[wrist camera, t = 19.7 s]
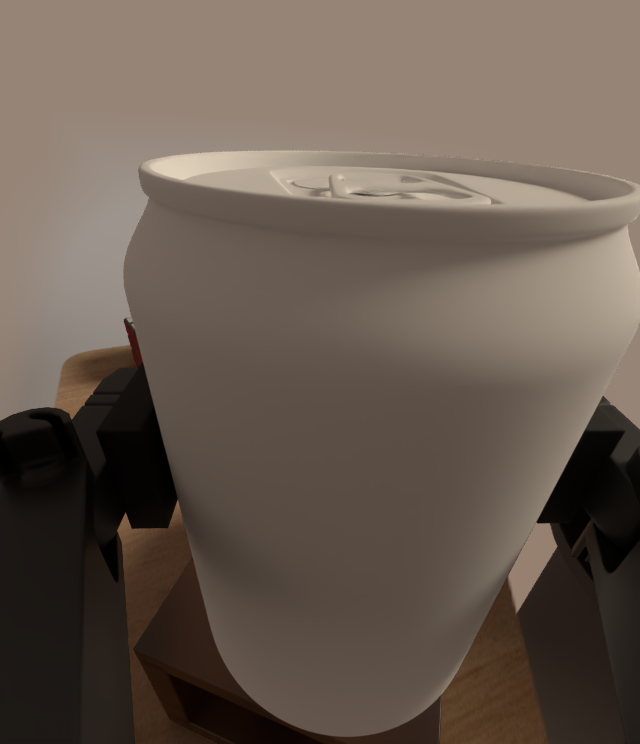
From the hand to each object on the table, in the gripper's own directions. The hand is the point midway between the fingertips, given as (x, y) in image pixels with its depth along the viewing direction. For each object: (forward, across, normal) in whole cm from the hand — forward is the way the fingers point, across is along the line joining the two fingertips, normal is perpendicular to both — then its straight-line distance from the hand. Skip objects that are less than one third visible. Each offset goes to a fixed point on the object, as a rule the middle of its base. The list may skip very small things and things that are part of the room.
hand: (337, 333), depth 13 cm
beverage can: (-5, 0, -7) cm, 8 cm away
